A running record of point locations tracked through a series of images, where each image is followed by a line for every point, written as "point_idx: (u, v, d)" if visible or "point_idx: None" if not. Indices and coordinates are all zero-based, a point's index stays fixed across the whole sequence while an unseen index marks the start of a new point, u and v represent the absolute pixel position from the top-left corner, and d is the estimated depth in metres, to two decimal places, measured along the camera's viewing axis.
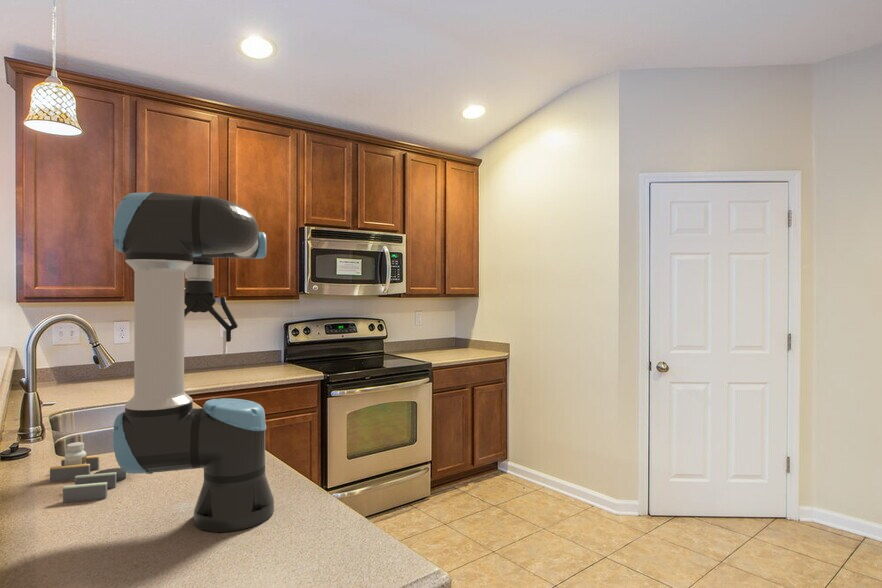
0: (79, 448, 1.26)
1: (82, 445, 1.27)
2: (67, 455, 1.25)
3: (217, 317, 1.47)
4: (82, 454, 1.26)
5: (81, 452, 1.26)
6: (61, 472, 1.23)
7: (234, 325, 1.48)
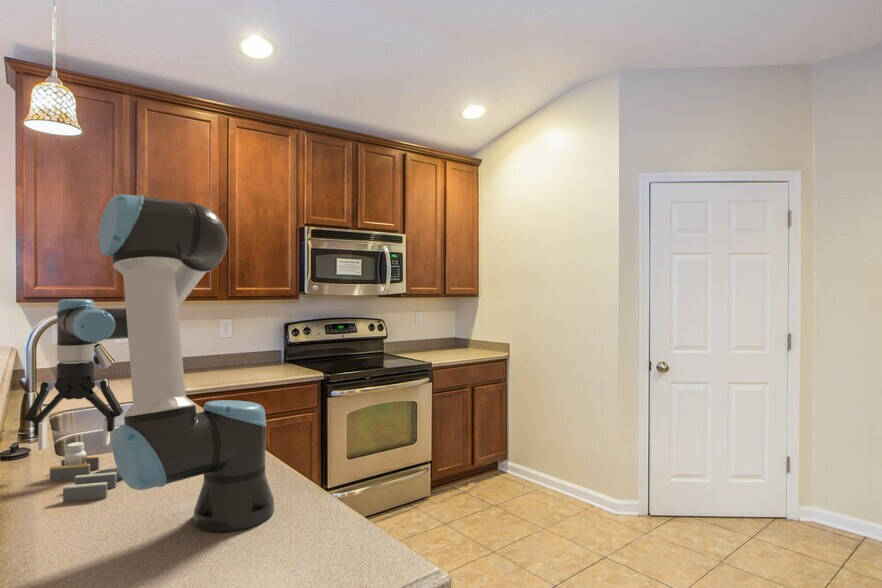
0: (79, 448, 1.26)
1: (82, 445, 1.27)
2: (67, 455, 1.25)
3: (96, 404, 1.27)
4: (82, 454, 1.26)
5: (81, 452, 1.26)
6: (61, 472, 1.23)
7: (117, 412, 1.28)
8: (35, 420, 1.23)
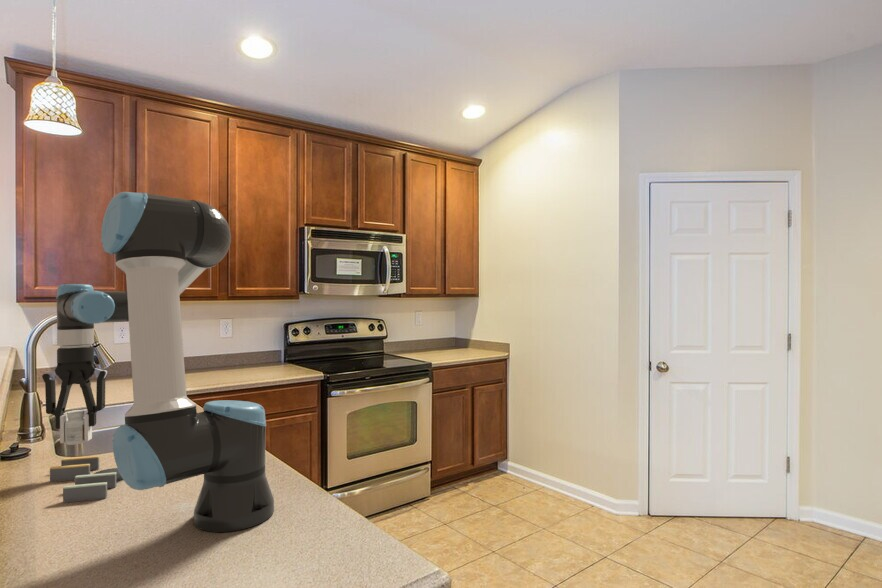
0: (80, 415, 1.25)
1: (82, 412, 1.26)
2: (67, 422, 1.24)
3: (85, 394, 1.26)
4: (82, 421, 1.26)
5: (81, 420, 1.26)
6: (61, 472, 1.23)
7: (99, 407, 1.27)
8: (56, 413, 1.24)
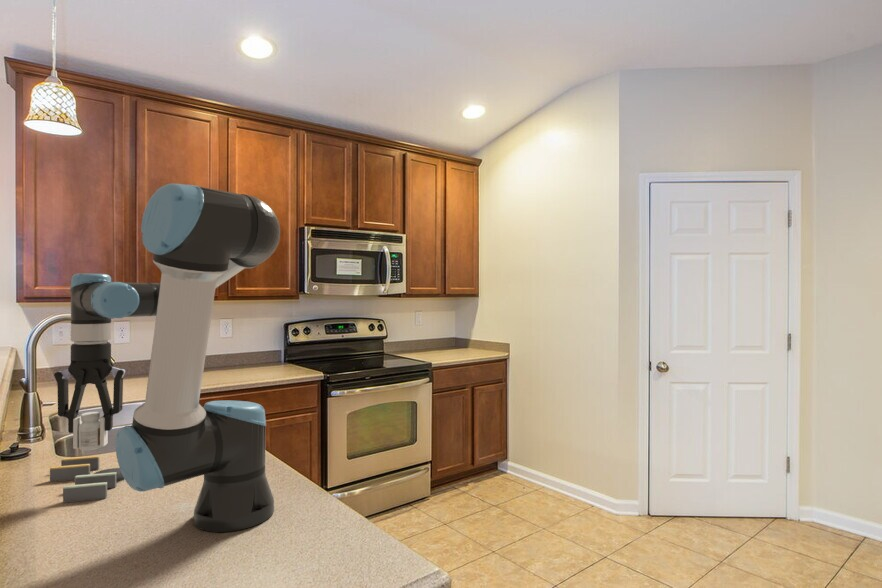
0: (95, 418, 1.14)
1: (98, 415, 1.15)
2: (81, 426, 1.13)
3: (101, 395, 1.14)
4: (98, 425, 1.14)
5: (96, 423, 1.14)
6: (61, 472, 1.23)
7: (116, 409, 1.15)
8: (69, 416, 1.12)
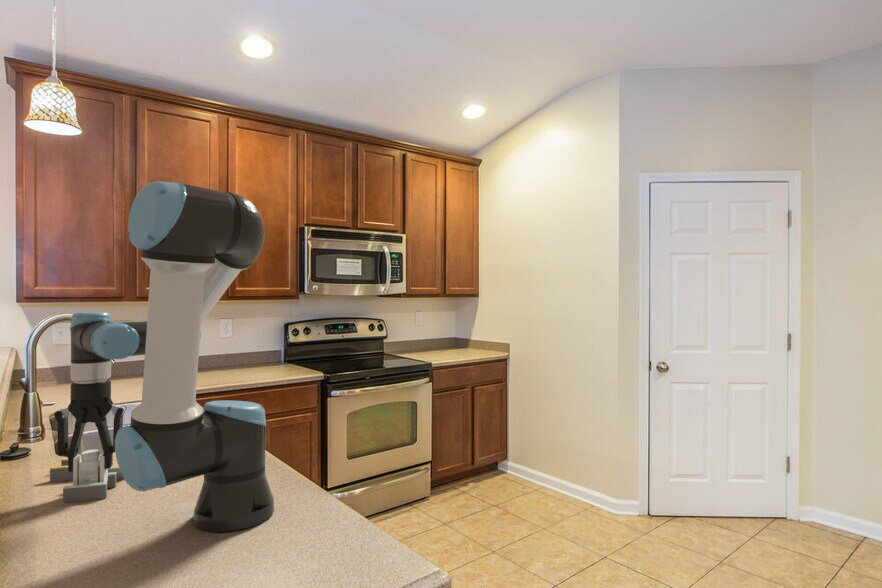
0: (95, 457, 1.14)
1: (98, 453, 1.15)
2: (81, 465, 1.13)
3: (101, 434, 1.14)
4: (98, 463, 1.14)
5: (96, 462, 1.14)
6: (61, 472, 1.23)
7: None
8: (69, 455, 1.12)
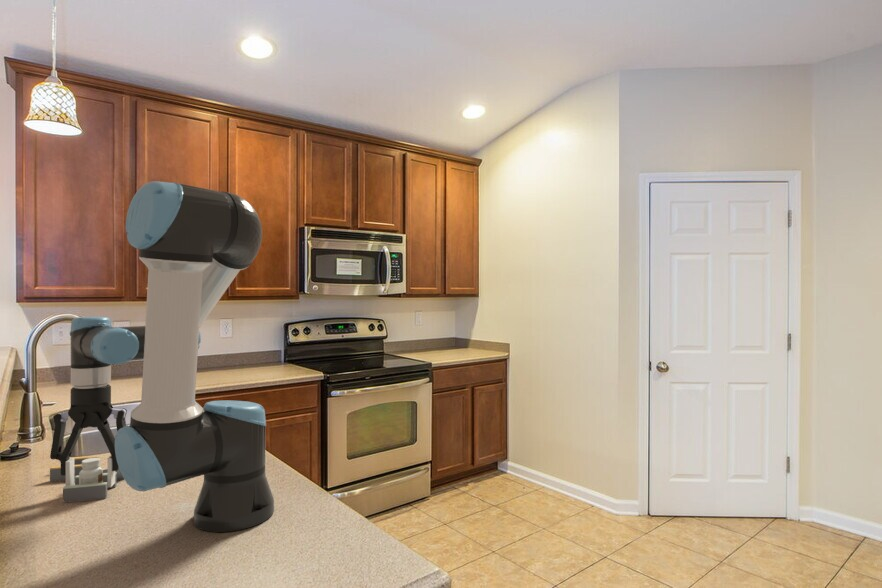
0: (95, 465, 1.14)
1: (98, 461, 1.15)
2: (82, 472, 1.13)
3: (106, 437, 1.15)
4: (98, 471, 1.14)
5: (97, 469, 1.14)
6: None
7: None
8: (62, 458, 1.12)
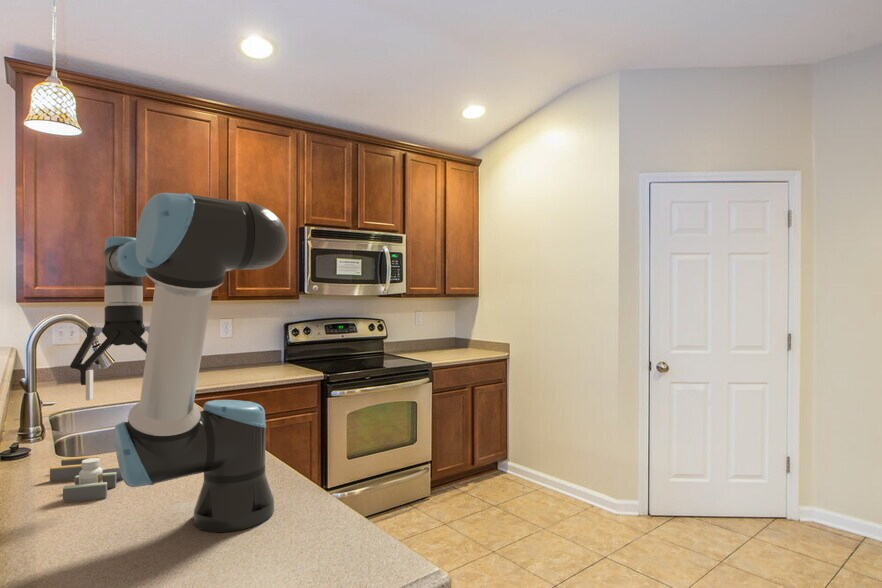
0: (95, 465, 1.14)
1: (98, 461, 1.15)
2: (82, 473, 1.13)
3: (147, 350, 1.18)
4: (98, 471, 1.14)
5: (96, 470, 1.14)
6: (61, 472, 1.23)
7: None
8: (82, 368, 1.13)
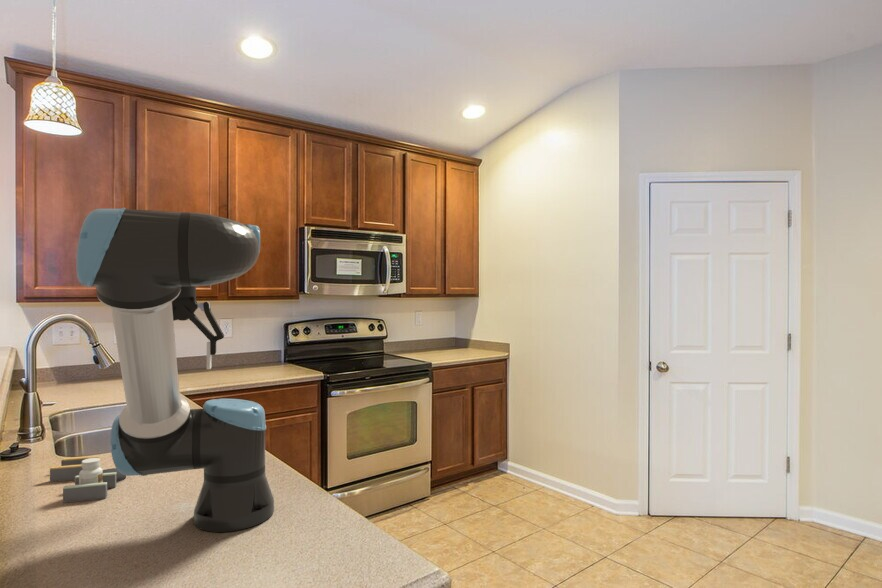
0: (95, 465, 1.14)
1: (98, 461, 1.15)
2: (82, 473, 1.13)
3: (199, 326, 1.24)
4: (98, 471, 1.14)
5: (97, 470, 1.14)
6: (61, 472, 1.23)
7: (220, 335, 1.25)
8: None
